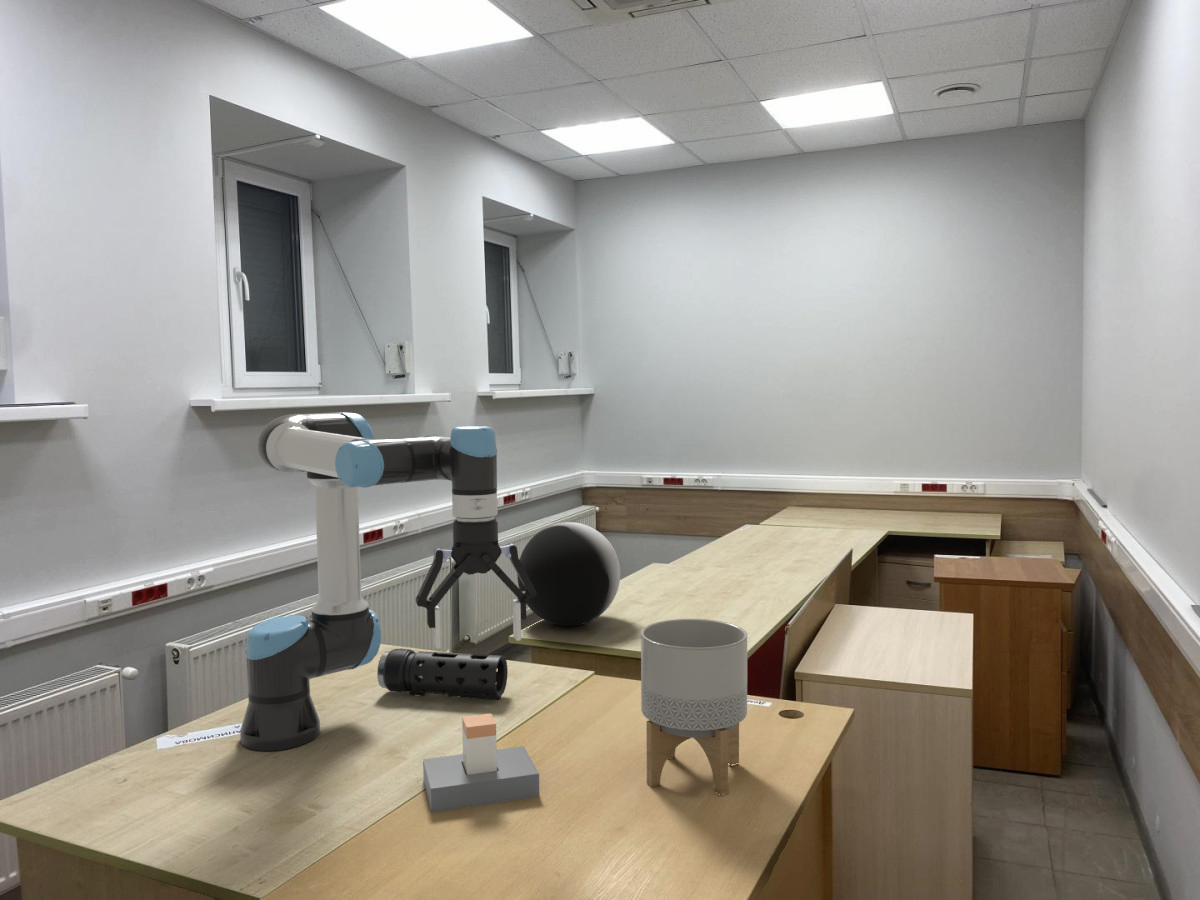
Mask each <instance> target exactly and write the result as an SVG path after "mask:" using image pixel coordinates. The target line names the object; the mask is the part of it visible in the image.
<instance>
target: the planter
mask: <svg viewBox="0 0 1200 900" xmlns="http://www.w3.org/2000/svg"><path fill="white" fill-rule="evenodd" d="M640 657H641V658H640V660H641V661H640V668H641V670H640V680H641V682H640V683H641V684H640V685H641V689H640V690H641V693H640V694H641V695H640V696H641V698H640V699H641V702H640V703H641V705H640V706H641V710H640V711H641V713H642V715H643V716H644V717H645V718H646V719H647V720H646V784H647V785H648V786H650V788H651V787H656V786H659V785H661V779H662V778H661V777H662V772H663V769H664V766H665V764H666V762H667V760H669V758H671V759H674V758H673V757H675V758H676V748H678V746H680V745H681V744H682V743H684V742H686V741H687V740H690V739H692V738H693V739H694V740H695V741H696V742H697V743H698V744H699V745H700V747H701V749H702V750H703V752H704V754H705V756H706V758H707V760H708V762H709V763H708V764H709V765H710V769H711V773H712V777H713V779H712V780H713V783H714V784H713V785H714V792H715V793H716V792H717V793H718V795H719V794H720V795H722V796H724V795H723V794H726V795H728V794H729V765H728V763H729V764H730V765H732V764H736V763H739V764H740V723H741V722H742V721H744V720H745V719H746V717H747V714H748V633H747V631H746V630H745V629H744V628H743V627H741V626H739V625H736V624H733V623H729V622H727V621H726V622H725V621H722V620H714V619H705V618H676V619H667V620H661V621H656V622H653V623H651V624H647V625H646V626H644V627H643V628H642V629H641V630H640ZM717 793H716V794H717ZM727 793H728V794H727ZM720 795H719V796H720Z"/></svg>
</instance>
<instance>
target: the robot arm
mask: <svg viewBox="0 0 1200 900" xmlns="http://www.w3.org/2000/svg"><path fill="white" fill-rule="evenodd" d="M496 440H497V439H496V432H495V429H494V428H493V427H490V426H486V425H483V426H477V425H476V426H475V425H474V426H473V425H471V426H470V425H469V426H465V425H464V426H455V427H453V428H452V429H451V431H450V437H449V436H440V435H436V434H433V435H423V436H419V437H408V438H397V439H396V438H394V439H392V438H391V439H375V435H374V431H373V430H372V428H371V425H370V424H369V422H368V421H367V419H365V418H364V417H363V415H361V414H359V413H354V412H341V411H338V412H320V413H293V414H292V413H291V414H285V415H282V416H279V417H276V418H275V419H273V420H271V421H270V422H268V423H267V424H266V425H264V427H263V428H262V430H261V431H260V433H259V436H258V438H257V444H256V445H257V451H258V452H257V453H258V455H259V456H260V459H261V460H262V462H263V463H264V464H265V465H267V467H269V468H271V469H273V470H276V471H279V472H280V471H281V472H284V473H298V472H306V480H307V481H308V482H310V484H312V485H313V486H314V496H315V527H316V528H315V529H316V530H315V531H316V552H317V553H316V555H317V556H316V557H317V559H316V560H317V584H318V585H317V586H318V587H317V588H318V600H317V601H316V603H314V605H313V606H312V607H311V619H310V620H308V619H307V617H305V616H303V615H299V614H290V615H285V616H284V615H282V616H277V617H272V618H269V619H267V620H264V621H262V622H260V623H258V624H255V626H253V627H252V628H251V629H250V630H249V631H248V632H247V635H246V648H245V658H246V670H247V671H246V673H247V690H248V691H247V693H248V695H247V697H248V702H247V706H246V710H245V714H244V717H243V720H242V723H241V727H240V731H239V732H240V733H239V734H240V735H239V736H240V744H241V746H243V747H244V748H247V749H249V750H253V751H262V752H263V751H264V752H268V751H269V752H271V751H272V752H273V751H281V750H283V751H284V750H288V749H292V748H296V747H299V746H302V745H305V744H308V743H309V742H311V741H312V740H314V739H316V738H317V737H318V736H319V735H320V734H321V733H320V732H321V719H320V716H319V715H318V712H317V709H316V707H315V704H314V702H313V699H312V696H311V691H310V690H311V689H310V688H311V686H310V681H311V680H312V679H314V678H319V677H323V676H327V675H331V674H336V673H339V672H343V671H348V670H349V671H350V670H354V669H357V668H358V667H361V666H364V665H368V664H369V663H371V662H372V661H373V660H374V658H375V657H376V656H377V655H378V652H379V651H380V648H381V647H380V646H381V641H382V628H381V623H379V621H380V620H379V617H378V615H377V613H375V611H373V609H370V605H369V602H368V601H366V600H365V599H364V598H363V597H362V582H361V581H362V580H361V579H362V577H361V546H360V544H361V541H360V514H359V513H360V511H359V488H370V487H373V486H374V487H375V486H382V485H393V484H400V483H401V484H404V483H405V484H406V483H414V482H426V481H435V480H436V481H440V480H442V481H451V494H452V497H451V499H452V500H451V501H452V502H451V503H452V506H451V507H452V516H453V518H455V519H454V520H453V522H452V547H451V549H442V548H440V547H436V548H435V549H434V550H433V561H432V562H431V565H430V568H429V569H428V571H427V574H426V576H425V578H424V580H423V583H422V584H421V587H420V589H419V591H418V593H417V595H416V597H415V603H416V606H417V607H420V608H421V607H422V608H425V609H426V623H427V625H428V628H429V629H432V628H433V643H434V647H435V649H441V648H442V647H441V643H442V642H441V640H442V639H441V610H440V607H439V605H438V604H439V603H440V602H441V600H443V598H444V597H445V596H446V595H447V593H448V592H449V590H451V588H452V587H453V586H454V584H455V583H456V581H457V580H459V578H460V577H462V575H463V574H466V575H470V576H471V575H475V574H477V573H478V574H484V575H485V574H487V573H488V572H490V571H492V572H493V573H495V575H496V576H497V577H498V578H499V579H500V580H501V581H502V582H503V584H504V585H505V586H506V588H508V589H509V590H510V591H511V592H512V593H513V594H514V595H515V596H516V597H517V599H512V620H513V621H512V626H513V627H512V630H513V632H512V633H513V637H514V639H515V641H517V642H518V641H522V624H521V623H522V622H521V621H522V620H527V619H526V618H527V604H526V602H527V600H528V599H529V598H532V597H535V596H536V595H537V592H536V590H535V588H534V586H533V584H532V583H531V581H530V579H529V577H528V575H527V573H526V571H525V569H524V568H523V566H522V564H521V562H520V557H519V551H518V547H517V546H516V545H515V543H512V542H510V543H508V544H506V545H502V546H500V544H499V527H498V525H499V524H498V523H499V522H498V520H497V518H495V517H496V516H497V515H498V513H499V512H498V471H497V469H498V466H497V465H498V462H497V459H498V457H497V455H498V448H497V441H496ZM502 554H503V555H504V556H505V558H507V559H509V561H510V562H511V564H512V567H513V568H514V570H515V572H516V575H517V574H518V576H519V578H520V580H521V582H522V583H523V585H524V587H525V589H526V590H525V591H523V592H522V591H521V590H520V589H519V586H517V585H516V584H515V583H514V581H513V580H512V579H511V578H510V577H509V576H508V575H507V574H506V572H505V571H503V570H502V568H501V567H500V566H499V565H498V564H497V563H496V562H497V561H498V560H499V558H500V557H501V556H502ZM450 557H451V559H452V560H453V561H454V563H455V564H454V565H453V566H452V568H451V569H450V571H449V572H448V574H447V575H446V576H445V577H444V579H443V580H442V581H441V583H440V584H439V585H438V586H437V588H436V589H435V590H434V591H433V593H432V594H431V595H430V597H429V594H430V592H431V590H432V588H433V586H434V584H435V582H436V579H437V578H438V575H439V574H440V571H441V568H442V567H443V563H446V562H447V561H448V559H449V558H450ZM428 597H429V598H428Z"/></svg>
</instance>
